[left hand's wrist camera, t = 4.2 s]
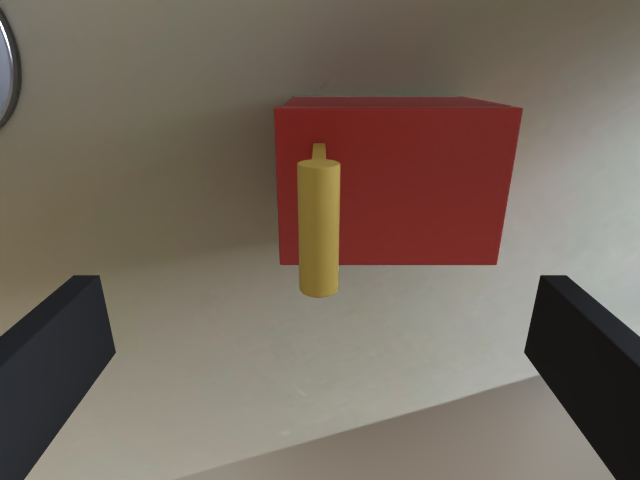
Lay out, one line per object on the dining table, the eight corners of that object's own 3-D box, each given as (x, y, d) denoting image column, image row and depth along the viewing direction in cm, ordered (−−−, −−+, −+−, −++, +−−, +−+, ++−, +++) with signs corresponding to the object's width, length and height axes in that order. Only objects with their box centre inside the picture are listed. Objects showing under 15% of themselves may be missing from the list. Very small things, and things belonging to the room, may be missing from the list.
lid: (281, 257, 29) (266, 330, 21) (276, 106, 25) (254, 123, 17) (489, 257, 29) (555, 330, 21) (514, 106, 25) (605, 123, 17)
